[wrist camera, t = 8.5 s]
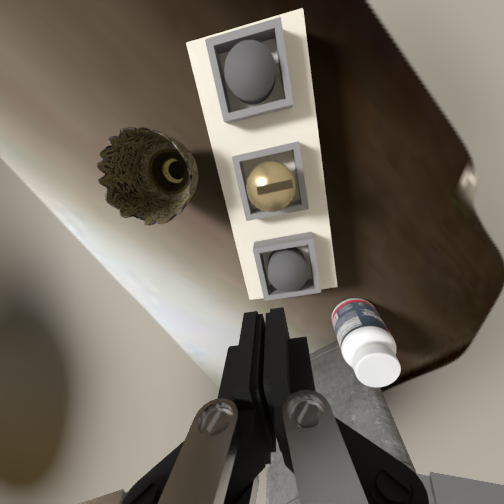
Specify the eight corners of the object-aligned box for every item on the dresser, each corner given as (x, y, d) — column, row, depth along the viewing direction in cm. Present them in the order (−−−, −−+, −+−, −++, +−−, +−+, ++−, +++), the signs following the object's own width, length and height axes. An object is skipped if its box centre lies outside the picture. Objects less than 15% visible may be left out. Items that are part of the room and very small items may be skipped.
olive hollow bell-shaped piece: (222, 149, 28) (202, 150, 20) (200, 216, 31) (176, 238, 23) (151, 119, 27) (104, 110, 20) (135, 190, 30) (89, 205, 23)
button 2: (225, 58, 22) (218, 47, 19) (270, 45, 21) (269, 32, 19) (235, 109, 23) (230, 104, 21) (279, 98, 22) (279, 92, 20)
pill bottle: (385, 315, 33) (421, 372, 25) (351, 341, 35) (375, 402, 27) (355, 288, 32) (383, 337, 24) (321, 315, 34) (336, 370, 26)
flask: (261, 383, 39) (250, 567, 22) (348, 328, 34) (417, 504, 18) (278, 399, 39) (280, 588, 23) (365, 347, 35) (448, 533, 18)
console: (199, 57, 25) (177, 33, 20) (298, 29, 24) (305, -6, 18) (252, 282, 33) (248, 310, 27) (330, 270, 32) (341, 296, 26)
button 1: (265, 248, 27) (264, 259, 25) (302, 242, 27) (305, 252, 24) (272, 281, 28) (271, 294, 26) (307, 276, 28) (311, 288, 25)
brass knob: (245, 165, 23) (241, 168, 20) (289, 155, 22) (291, 157, 19) (254, 208, 24) (251, 216, 21) (296, 200, 23) (299, 207, 21)
